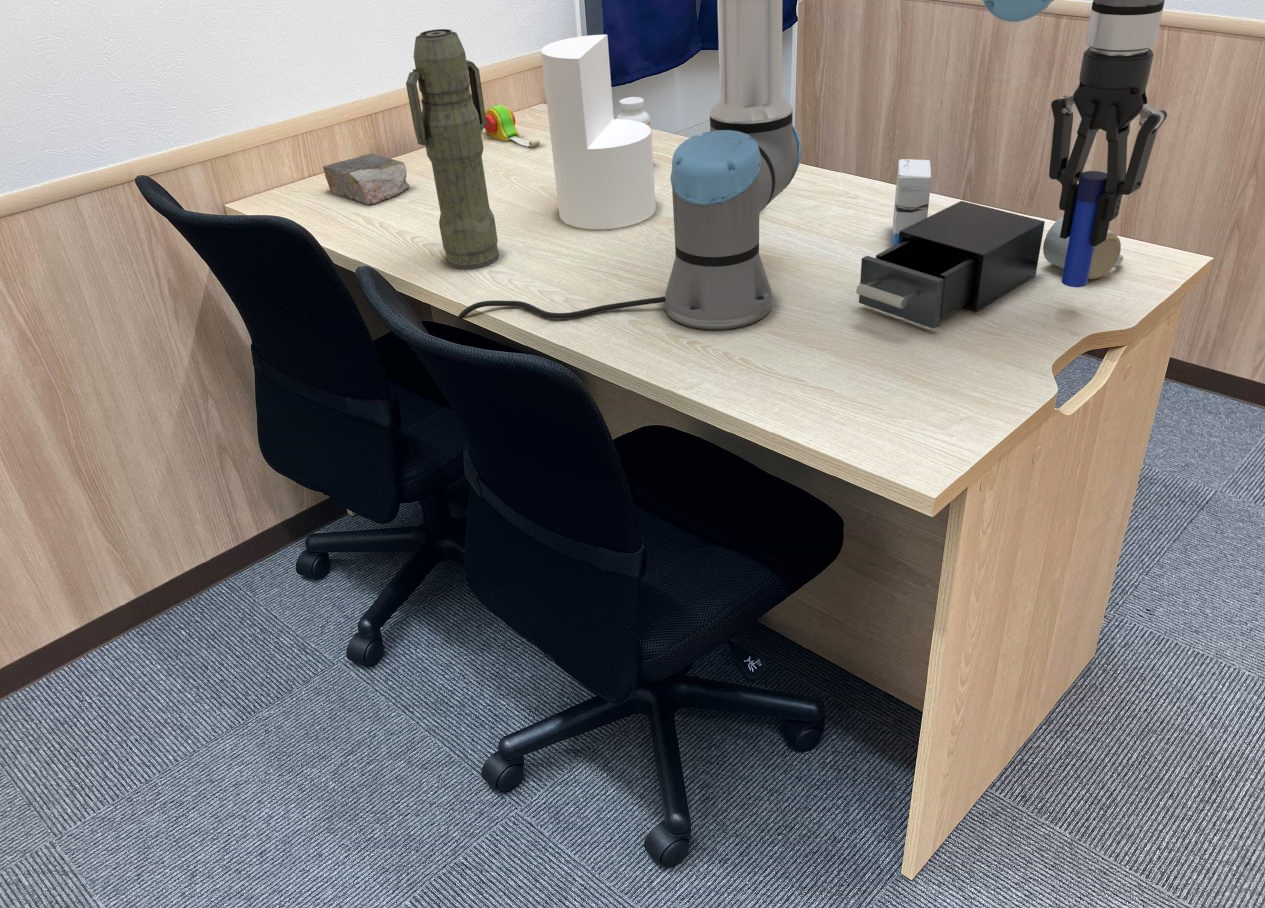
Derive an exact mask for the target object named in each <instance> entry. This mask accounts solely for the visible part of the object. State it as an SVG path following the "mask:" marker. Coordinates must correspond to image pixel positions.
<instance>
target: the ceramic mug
mask: <svg viewBox="0 0 1265 908" xmlns="http://www.w3.org/2000/svg"><path fill="white" fill-rule="evenodd" d="M1063 217H1064V215H1063V216H1061V217H1059V218H1058V219H1057V220H1056V221H1055V222H1053V224H1052V225H1051V227H1050V228H1049V229H1048V231H1047V233H1046V236H1045V238H1044V240H1043V246H1042V253H1043V257H1044V259H1045V260H1046V261H1047V262H1048V263H1050V264H1052V265H1054V266H1056V267H1058V268H1060V269H1063V270H1064V264H1065V259H1066V253H1067V248H1068V242H1069V237H1070V236H1069V237H1068V238H1066V239H1063V238H1060V233H1061V228H1062V222H1063ZM1121 249H1122V243H1121V240H1120V238H1119V237H1118V235H1117V234H1116V233H1114V232H1113V231H1111V230H1110V229H1109V228H1108V232H1107V237H1106V240H1105V241H1104V242H1102V243H1100V244H1099V245H1097V246H1095V248H1094V253H1093V257H1092V262H1091V267H1090V272H1089V277H1088V280H1097V279H1099V278H1102V277H1103V276H1105V275H1106V274H1108V273H1109V272H1110V271H1111V270H1112V269H1113V268H1114V267H1117V268H1119V267H1120V266H1121V265H1122V262H1123V260H1124V259H1125V258H1124V256H1123V255H1122V254H1121V251H1122V250H1121Z"/></svg>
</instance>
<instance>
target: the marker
mask: <svg viewBox="0 0 1265 908" xmlns="http://www.w3.org/2000/svg"><path fill="white" fill-rule="evenodd" d="M1077 184H1078V189H1077V195H1076V205H1075V210H1074V215H1073V221H1072V226H1071V232H1070V237H1069V242H1068V248H1067V253H1066V259H1065V264H1064V269H1063V270H1062V275H1061V284H1062V285H1064V286H1066V287H1070V288H1082V287H1086V286H1087V285H1088V283H1089V279H1088V277H1089V272H1090V267H1091V262H1092V257H1093V253H1094V248H1095V246H1091V245H1090V241H1091V236H1092V231H1093V226H1094V221H1095V216H1096V211H1097V206H1098V200H1099V196H1100V195H1102V194H1104V193H1106V192H1107V172H1104V171H1099V170H1087V171H1083V172H1082V173H1081V174H1080V178H1079V181H1078V183H1077Z"/></svg>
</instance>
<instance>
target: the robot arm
mask: <svg viewBox="0 0 1265 908" xmlns="http://www.w3.org/2000/svg"><path fill="white" fill-rule="evenodd" d="M1054 1H1055V0H982V2H983V4H984V6H985V8H986V9H987V10H988V12H989V13H990V14H991V15H993V16H994V17H995V18H997V19H999V20H1001V21H1004V22H1010V23H1017V22H1024V21H1027V20H1029V19H1032V18H1034V17H1035V16H1037V15H1038V14H1041V13H1042V12H1043V11H1044V10H1046V9H1047V8H1048V7H1049V6H1050V4H1052V2H1054ZM1165 1H1166V0H1092V3H1091V11H1090V16H1089V20H1088V26H1087V30H1086V36H1085V40H1084V43H1085V45H1086V47H1088V48H1087V49H1085V50H1084V51H1083V54H1082V59H1081V66H1080V71H1079V77H1078V79H1079V84H1078V86H1077V88H1076V89H1075V90H1074V92H1073V94H1071V95H1063V96H1061V97H1058V98H1056V99H1053V100H1052V101H1051V104H1050V108H1051V111H1052V116H1053V121H1054V122H1053V130H1052V139H1051V148H1050V149H1051V150H1050V158H1049V159H1050V160H1049V170H1048V177H1049V179H1051V180H1056V181H1057V182H1059V183H1060V185H1061V191H1060V198H1059V203H1058V208H1059V210H1060V211H1064V212H1063V216H1064V217H1063V216H1062V217H1063V222H1062V228H1061V233H1060V238H1063V239H1066V238H1068V237H1069V236H1070V232H1071V226H1072V221H1073V215H1074V210H1075V205H1076V195H1077V189H1078V184H1079V178H1080V174H1081V173H1083V172H1084V169H1085V166H1086V163H1087V160H1088V159H1089V155H1090V152H1091V149H1092V148H1093V147H1092V146H1093V144H1094V141H1095V138H1096V135H1097V134H1098V133H1099V131H1100V130H1101V131H1104V132H1105V139H1106V141H1107V160H1106V161H1107V163H1106V167H1107V168H1106V173H1107V192H1106V193H1104V194H1102V195H1100V196H1099V200H1098V206H1097V211H1096V216H1095V221H1094V226H1093V231H1092V236H1091V241H1090V245H1091V246H1097V245H1099V244H1100V243H1102V242H1104V241H1105V240H1106V237H1107V232H1108V229H1109V228H1110V227H1109V226H1110V222H1112V221H1113V220H1116V219H1117V217H1118V216H1119V213H1120V208H1121V204H1122V198H1123V196H1129V195H1132V194H1133V193H1134V192H1136V191H1138V190H1139V189H1140V188H1141V187H1142V184H1143V181H1144V177H1145V174H1146V171H1147V167H1148V165H1149V161H1150V157H1151V154H1152V150H1153V148H1154V144H1155V140H1156V137H1157V133H1158V131H1159V129H1160V128H1161V126H1162V125H1163V123H1164V122H1165V121H1166V119H1167V118H1168V112H1167V111H1166V110H1163V109H1161V110H1157V109H1156V108H1154V107H1152V106H1151V105H1150V104H1148V96H1147V92H1146V91H1147V86H1148V82H1149V80H1150V75H1151V69H1152V65H1153V60H1154V55H1155V54H1154V52H1153V50H1152V49H1151V48H1153V47H1154V46H1155V45H1156V44H1157V40H1158V34H1159V31H1160V25H1161V22H1162V21H1161V20H1162V17H1163V11H1164V6H1165ZM717 33H718V34H717V35H718V37H717V39H718V62H719V63H718V67H719V99H718V100H717V101H716V103H715V104H714V105H713V106H712V107H711V109H710V110H709V131H706V132H702V134H701V135H695V134H694V136H693V135H692V136H690V137H689V138H687V139H685V140H684V141H683V142H681V143H680V144H679V145H678V146H677V148H676V149H675V150H674V153H673V155H672V158H671V171H670V172H671V173H670V184H671V193H672V210H673V211H672V212H673V230H674V232H673V233H674V250H675V258H674V262H673V265H672V269H671V272H670V275H669V278H668V282H667V286H666V289H665V292H664V293H665V294H664V296H658V297H649V298H644V299H643V298H642V299H635V300H629V301H623V302H617V303H610V304H603V305H598V306H594V307H590V308H586V309H582V310H577V311H570V312H551V311H546V310H543V309H540V308H539V307H536V306H534V305H533V304H530V303H528V302H526V301H519V300H482V301H479V302H475V303H472V304H470V305H469V306H467V307H466V308H464V309H463V310H462V311H461V312H460V313H459V315H458V316H456V319H457V320H462V319H464V318H466V316H467V315H468V314H470V313H471V312H473V311H476V310H477V309H481V308H486V307H518V308H523V309H525V310H528V311H530V312H533V313H534V314H536V315H539V316H540V317H544V318H549V319H556V320H557V319H559V320H562V319H564V320H565V319H574V318H578V317H579V318H580V317H583V316H588V315H592V314H597V313H600V312H605V311H611V310H618V309H625V308H632V307H638V306H645V305H652V304H653V305H654V304H660V303H664V309H665V313H666V315H667V316H669V318H670V319H672V320H673V321H674V322H676V323H679V324H681V325H683V326H686V327H688V328H689V327H690V328H695V329H701V330H729V329H736V328H741V327H745V326H749V325H751V324H754V323H756V322H758V321H760V320H762V319H763V318H765V317H766V316H767V315H768V314H769V313H770V311H771V310H772V305H773V301H772V300H773V295H772V288H771V285H770V283H769V280H768V279H769V278H768V276H767V272H766V270H765V268H764V264H763V262H762V259H761V256H760V214H761V212H762V211H763V210H764V209H765V208H766V207H767V206H768V205H770V204H771V202H772V201H773V200H774V199H776V198H777V196H778V195H780V194H782V192H784V190H785V189H787V187H788V186H789V185H790V184H791V182H792V181H793V179H794V177H795V176H796V173H797V172H798V169H799V167H800V163H801V159H802V150H803V149H802V142H801V138H800V134H799V131H798V130H797V128H796V126H794V125H793V117H794V116H793V115H794V111H793V105H792V104H791V103H790V102H789V101H788V100H787V99H786V98H785V97H784V95H783V0H717ZM1076 109H1077V111H1078V114H1079V116H1080V118H1081V119H1080V122H1079V124H1078V128H1077V130H1076V135H1077V136H1076V138H1075V140H1074V141H1075V142H1074V145H1073V147H1072V150H1071V143H1072V134H1073V125H1074V123H1073V122H1074V112H1075V110H1076ZM1138 115H1139V117H1140V119H1139V123H1138V125H1139V126H1140V129H1139V130H1138V132H1137V135H1136V138H1135V142H1134V145H1133V148H1132V153H1131V156H1130V159H1129V162H1128V163H1127V161H1128V138H1129V135H1130V132H1131V122H1132V121H1133V120H1134V119H1135V118H1136V117H1137V116H1138ZM1070 152H1071V153H1070ZM1127 165H1128V167H1127Z"/></svg>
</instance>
